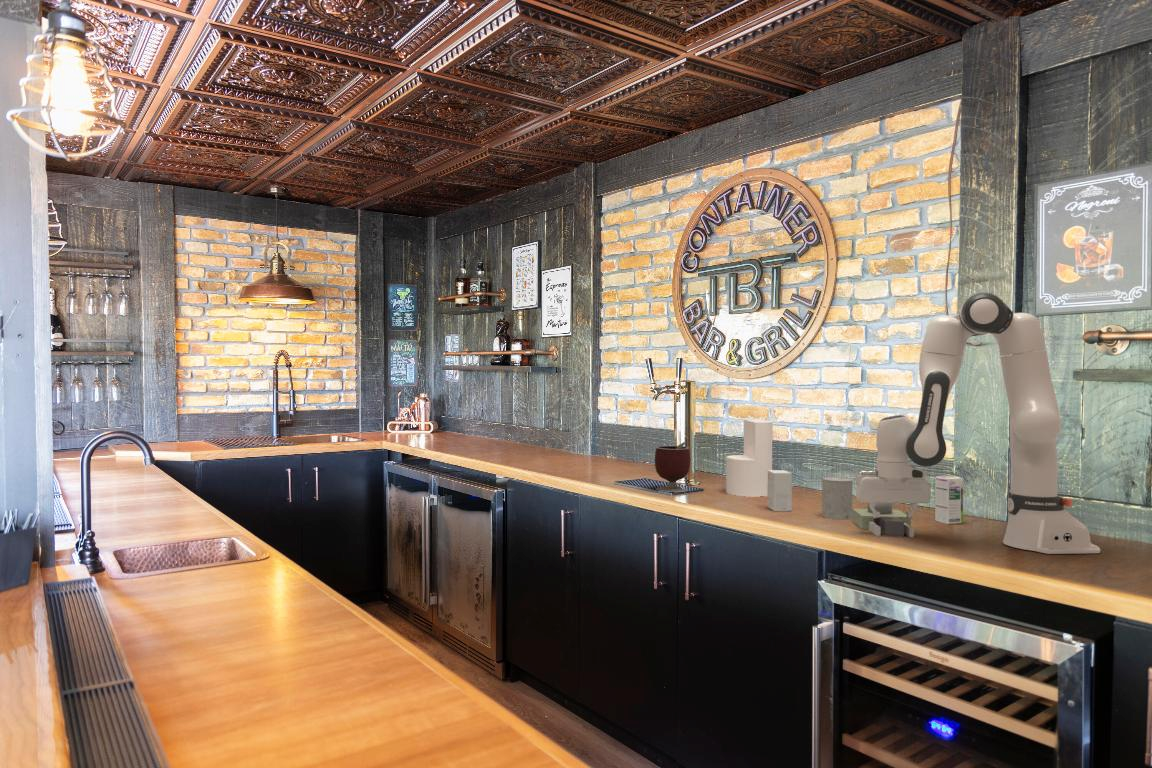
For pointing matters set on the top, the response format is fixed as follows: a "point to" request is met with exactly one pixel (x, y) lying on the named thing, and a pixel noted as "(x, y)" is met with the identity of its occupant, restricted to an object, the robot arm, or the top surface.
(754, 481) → the pale stepped column block
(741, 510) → the top surface
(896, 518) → the dark grey box
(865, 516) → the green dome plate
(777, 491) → the small box
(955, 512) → the syrup box
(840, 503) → the grey concrete cylinder
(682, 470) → the mate gourd
